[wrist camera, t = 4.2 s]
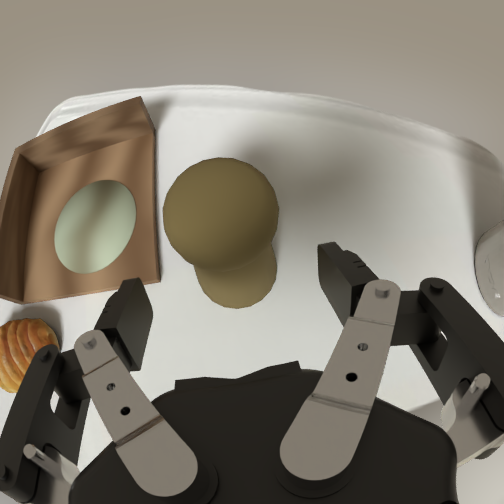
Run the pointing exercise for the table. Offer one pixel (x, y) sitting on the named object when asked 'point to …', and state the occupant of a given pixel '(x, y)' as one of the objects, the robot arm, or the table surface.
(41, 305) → the table surface
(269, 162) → the table surface
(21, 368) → the pastry
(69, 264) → the corner tray
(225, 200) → the cork
